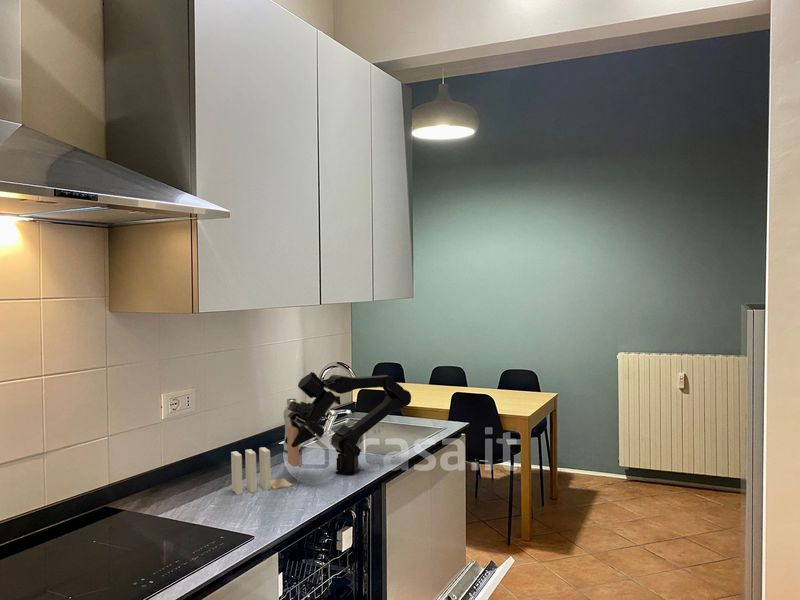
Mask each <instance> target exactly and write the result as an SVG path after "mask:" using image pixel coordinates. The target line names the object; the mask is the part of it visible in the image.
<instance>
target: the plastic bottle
mask: <svg viewBox="0 0 800 600" xmlns="http://www.w3.org/2000/svg"><path fill="white" fill-rule="evenodd" d="M291 401H294V402H297V398H287V399H286V405H287V406H286V408H285V409H284V411H283V420H284V442H283V448H284V450H285V452H288V448H287V444H286V443H285V440H286V437H287V426H291V422H290V418H289V417H288V415H289V414H290V413H291V412H292V411H291V410H288V408H289V405H290V403H291ZM301 447H302V444H300V445H299V450H300V449H301Z"/></svg>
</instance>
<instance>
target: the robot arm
mask: <svg viewBox="0 0 800 600" xmlns="http://www.w3.org/2000/svg"><path fill="white" fill-rule="evenodd" d="M297 388H299V390H301V391H302V392H303V393H304V394H305V395H307V397H308V398H310V399H313V398H314V399H313V401H312V402H308V403H306V402H304V401H300V402H297V401H296V402H294V401H291V403H290V405H289V408H288V410H291V411H292V412H291V413H290V414H289V415H288V417H289V418H290V422H291V426H294V427H296V428H297V429H298V435H297V436H296V438H295V440H294V441H293V443H292V445H291V446H292V447H293V448H294V447H296V446H298V445H300V444H301V445H302V444H304V443H305V442H307V441H309V440H312V439H315V438H316V437H318V438H320V439H321V438H322V436H323V435H324V434H325V429H324V427H323V426H321V425H320V424H319V422H320V421H321V420H322V418H323V419H325V418H326V417H327V415H326V414H327V412H328V411H329V409H331V407H332V406H333V405H334V404H335V405H338V406H340V405H341V396H339V395H335V394H334V393H336V394H341V395H342V394H346V393H350V392H353V391H354V390H360V389H361V390H362V389H373V388H375V389H376V388H382V390H383V391H384V392H385V394H386V395H385V397H384V399H383V401H382V402H380V404H378V405H377V406H376V407H374V408H373V409H372V410H370V411H369V412H367V414H365V415H364V416H363V417H362V418H360V419H359V420H357V422H355V423H354V424H353V425H351V426H347V425H345V424H343V425H341V427H339V428H338V429H336V430H334V431H333V432H334V433H333V434H332V436H331V438H330V439H331V440H330V445H331V446H332V447H333V448H334V449H335V451H336V453H337V457H336V471H335V474H340V475H346V476H347V475H348V476H354V475H355V474H357V473H358V472H359V471H361V468H359V456H360V454H361V451H362V450H361V448H360V447H359V446H358V443H359V441H360V439H361V437H362V436H364V435H365V434H366V433H367V432H368V431H370V430H371V429H372V428H373V427H375V426H376V425H377V424H379V423H380V422H381V421H382V420H384V418H386V417H387V416H389V415H390V414H391V413H394V412H396V411H399V410H402V409H404V408H405V407H407V406H409V405H410V404H411V403H412V395H411V393H410V391H409V390H407V389H404V388H403V386H401V385H400V384H399V383H397V382H396V381H395V379H394V378H393V377H392V376H390V375H386V374H381V375H372V376H371V375H370V376H369V375H367V376H353V377H352V376H346V375H341V374H332V375H330V376H329V377H328V378H327V379H323V380H322V379H320V378H319V377H318V375H317V374H316V373H315V372H313V371H310V372H309V373H308V374H307V375H305V376H304V377H302V378H301V379H300V380H299V382H298V384H297ZM326 389H328V390H326ZM284 440H285V439H284ZM285 443H286V444H287V437H286V440H285Z"/></svg>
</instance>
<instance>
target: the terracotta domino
mask: <svg viewBox="0 0 800 600" xmlns="http://www.w3.org/2000/svg"><path fill="white" fill-rule="evenodd" d="M297 435H298V429H297V428H296V427H294V426H287V448H288V451H287V464H289V465H290V466H292V467H293V468H296V467H300V452H299V450H300V449H299V445H298V446H296V447H294V448H293V447H292V446H291V445H292V443H293V441H294V440H295V438H296V436H297Z"/></svg>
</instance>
